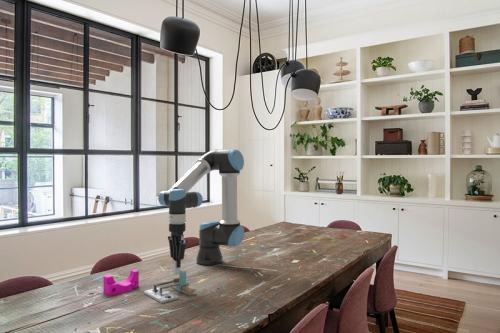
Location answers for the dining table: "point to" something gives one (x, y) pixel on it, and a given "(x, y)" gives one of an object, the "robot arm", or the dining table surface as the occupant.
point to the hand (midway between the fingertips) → (177, 274)
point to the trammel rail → (184, 289)
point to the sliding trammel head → (181, 282)
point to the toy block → (120, 283)
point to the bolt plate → (161, 295)
